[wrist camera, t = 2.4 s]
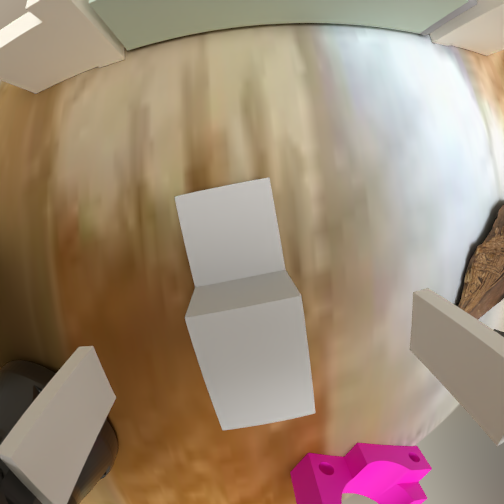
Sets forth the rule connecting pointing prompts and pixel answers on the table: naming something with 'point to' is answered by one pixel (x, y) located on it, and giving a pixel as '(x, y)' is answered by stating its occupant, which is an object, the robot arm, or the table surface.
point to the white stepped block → (244, 307)
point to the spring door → (266, 15)
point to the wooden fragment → (485, 273)
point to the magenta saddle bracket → (362, 475)
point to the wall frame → (112, 50)
